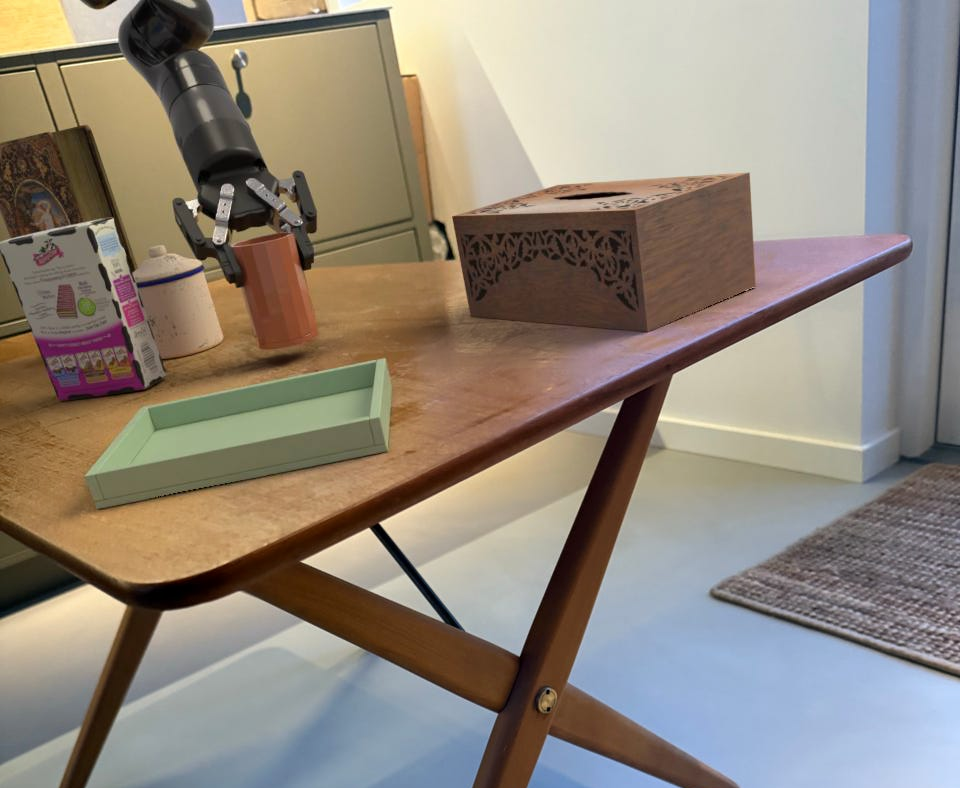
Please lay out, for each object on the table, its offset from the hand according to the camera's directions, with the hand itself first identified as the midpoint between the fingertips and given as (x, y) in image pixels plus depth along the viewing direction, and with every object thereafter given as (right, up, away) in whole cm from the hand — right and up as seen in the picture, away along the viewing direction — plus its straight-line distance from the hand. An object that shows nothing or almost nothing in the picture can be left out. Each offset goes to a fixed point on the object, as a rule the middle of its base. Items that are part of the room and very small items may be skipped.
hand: (273, 273), depth 102 cm
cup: (+1, -5, +5) cm, 7 cm away
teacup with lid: (-16, -2, +20) cm, 26 cm away
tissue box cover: (+33, -3, +1) cm, 33 cm away
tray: (+3, -21, -20) cm, 29 cm away
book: (-28, +1, +30) cm, 41 cm away
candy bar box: (-19, -10, +8) cm, 23 cm away
